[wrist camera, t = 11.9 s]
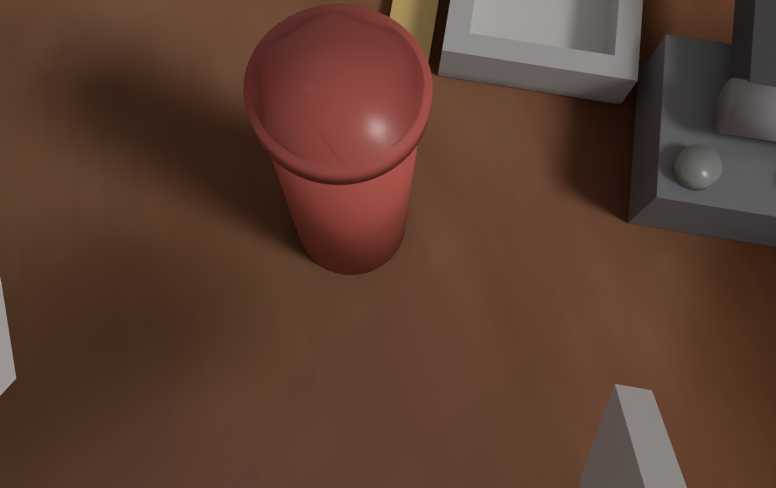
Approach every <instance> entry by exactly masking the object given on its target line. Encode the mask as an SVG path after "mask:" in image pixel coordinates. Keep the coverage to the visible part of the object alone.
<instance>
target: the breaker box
mask: <svg viewBox="0 0 776 488" xmlns="http://www.w3.org/2000/svg"><path fill="white" fill-rule="evenodd" d="M731 51H732V45H731V44H724V43H718V42H711V41H705V40H698V39H692V38H686V37H679V36H673V35H665V36H664V38H663V39H662V41H661V42H660V43H659V45H658V46H657V48H656V49H655V51H654V52H653V53H652V55H651V56H650V58H649V59H648V60H647V62H646V63H645V65H644V66H643V68H642V69H641V70H640V72H639V73H638V82H637V96H636V111H635V125H634V140H633V154H632V169H631V184H630V198H629V213H628V223H630V224H637V225H643V226H649V227H655V228H661V229H667V230H674V231H680V232H686V233H692V234H698V235H704V236H711V237H717V238H723V239H729V240H735V241H741V242H747V243H754V244H760V245H766V246H772V247H776V142H773V141H767V140H761V139H754V138H748V137H742V136H735V135H729V134H723V133H718V132H717V131H716V130H715V128H714V120H713V118H714V110H715V105H716V102H717V99H718V96H719V94H720V92H721V90H722V88H723V86H724V85H725V83H726V82H727V81H728V80H729V78H730V64H731Z"/></svg>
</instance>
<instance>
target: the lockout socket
mask: <svg viewBox="0 0 776 488" xmlns="http://www.w3.org/2000/svg"><path fill="white" fill-rule="evenodd" d="M438 3H439V0H393V2H392V8H391V13H390V18H391V19H393V20H395V21H396V22H398V23H399V24H400V25H401V26H403V27H404V28H405V29H406V30H407V31H408V32H409V33H410V34H411V35H412V36H413V37H414V38H415V39H416V41H417V42H418V44H419V45H420V46H421V48H422V50H423V52H424V54H425V56H426V58H427V60H428V62H429V56H430V50H431V44H432V38H433V32H434V26H435V20H436V14H437V9H438ZM642 9H643V0H450V4H449V10H448V16H447V22H446V29H445V35H444V41H443V47H442V53H441V59H440V65H439V71H438V76H443V77H449V78H455V79H462V80H468V81H474V82H481V83H487V84H494V85H500V86H506V87H513V88H519V89H525V90H532V91H538V92H544V93H551V94H557V95H563V96H570V97H576V98H582V99H589V100H595V101H601V102H608V103H614V104H620V105H621V103H622V102H623V100H624V99H625V98H626V96H627V95H628V93H629V92H630V91H631V89H632V88H633V86H634V85H635V84H636V82H637V81H638V67H639V53H640V38H641V23H642Z"/></svg>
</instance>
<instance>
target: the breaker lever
mask: <svg viewBox="0 0 776 488" xmlns="http://www.w3.org/2000/svg"><path fill="white" fill-rule="evenodd" d="M713 120H714V128H715V130H716V131H717V132H718V133H723V134H729V135H735V136H742V137H748V138H754V139H761V140H767V141H773V142H776V0H735V10H734V24H733V37H732V51H731V64H730V78H729V80H728V81H727V82H726V83H725V85H724V86H723V88H722V90H721V92H720V94H719V96H718V99H717V102H716V105H715V110H714V118H713Z"/></svg>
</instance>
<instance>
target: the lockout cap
mask: <svg viewBox="0 0 776 488" xmlns="http://www.w3.org/2000/svg"><path fill="white" fill-rule="evenodd" d="M243 93H244V102H245V106H246V110H247V114H248V117H249V119H250V122H251V125H252V127H253V130H254V132H255V134H256V137H257V139H258V141H259V142H260V144H261V145H262V147H263V149H264V150H265V151H266V152H267V153H268V155H269V156H270V157H271V158H272V161H273V164H274V167H275V170H276V173H277V175H278V178H279V181H280V184H281V187H282V190H283V193H284V195H285V198H286V201H287V204H288V207H289V210H290V213H291V216H292V218H293V221H294V224H295V227H296V230H297V233H298V236H299V238H300V241H301V243H302V246H303V248H304V249H305V251H306V252H307V254H308V255H309V256H310V257H311V258H312V259H313V260H314V261H315V262H316V263H317V264H319V265H320V266H321V267H323V268H325V269H327V270H329V271H332V272H335V273H339V274H346V275H357V274H363V273H367V272H370V271H373V270H375V269H377V268H379V267H380V266H382V265H384V264H385V263H386V262H387V261H389V260H390V259H391V258H392V257H393V256H394V254H395V253H396V251H397V250H398V248H399V247H400V245H401V242H402V240H403V237H404V233H405V227H406V220H407V213H408V206H409V199H410V193H411V186H412V179H413V172H414V165H415V158H416V151H417V145H418V143H419V141H420V140H421V138H422V136H423V134H424V131H425V129H426V126H427V123H428V119H429V114H430V108H431V102H432V93H433V83H432V75H431V70H430V66H429V63H428V60H427V58H426V56H425V54H424V52H423V50H422V48H421V46H420V45H419V44H418V42H417V41H416V39H415V38H414V37H413V36H412V35H411V34H410V33H409V32H408V31H407V30H406V29H405V28H404V27H403V26H401V25H400V24H399V23H398V22H396V21H395V20H393V19H391V18H390V17H388V16H386V15H384V14H382V13H380V12H377V11H374V10H372V9H369V8H365V7H360V6H356V5H346V4H331V5H323V6H317V7H313V8H309V9H306V10H303V11H301V12H298V13H296V14H294V15H292V16H290V17H288V18H286V19H285V20H283V21H282V22H280V23H279V24H277V25H276V26H275V27H274V28H272V29H271V30H270V31H269V32H268V33H267V34H266V35H265V36H264V37H263V39H262V40H261V41H260V42H259V44H258V45H257V47H256V48H255V50H254V52H253V54H252V56H251V58H250V60H249V62H248V65H247V68H246V72H245V78H244V91H243Z"/></svg>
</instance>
